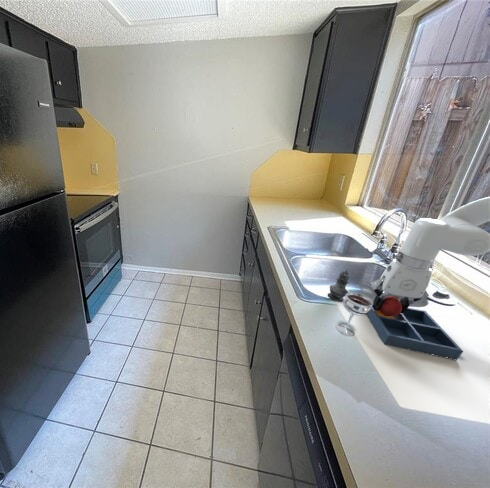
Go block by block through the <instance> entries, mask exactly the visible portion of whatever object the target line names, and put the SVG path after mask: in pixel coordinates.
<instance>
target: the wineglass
mask: <svg viewBox="0 0 490 488" xmlns="http://www.w3.org/2000/svg"><path fill="white" fill-rule="evenodd" d="M343 298H344V301H343V302H342V303H343V304H342V305H343V307H344V309H345V310H346V312H347V313H349V318H348V319H347V322H346V324H342V323H338V324H336V325H335V329H336V330H337V332H339V333H341V334H342V335H344V336H348V337H354V336H355V331H354V330H353V329H352V328H351V326H349V325H350V323H351V321H352V320H353V318H354V316H356V317H361V316H366V314H368V313H369V312H370V311H371V306H373V304H374V303H373V301H374V300H372V299H371V298H370V297H368V296H367V295H365V294H362V293H361V292H360V293H359V292H354V291H350V292H349V291H348V293H347V294H346V296H344V297H343Z"/></svg>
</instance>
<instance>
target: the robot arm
mask: <svg viewBox="0 0 490 488" xmlns="http://www.w3.org/2000/svg"><path fill="white" fill-rule="evenodd" d="M488 222H490V196H487V197H484V198H483V197H482V198H480V199H477V200H474V201H471V202H468V203H466V204H464V205H462V206H460V207H458V208H456V209H455V210H453V211H451V212H448V213H447V214H446V215H444V216H442V217H441V218H439V220H438V219H433V218H428V217H427V218H425V217H423V218H419V219H416V220H415V221H414V223H413V224H412V226H411V228H410V230H409V232H408V234H407V236H406V239H405V240H404V241H403V244H402V246H401V248H400V250H399V251H398V253H392V258H393V259H392V260H391V261H390V263H389V264H388V265H387V266H386V268H385V269H384V271H383V273H382V274H381V276H380V277H379V278H378V279H376V280H374V281H371V282H369V284H368V285H369V287H371V289H372V290H373V291H374V293H375V294H376V295H375V297H374V299H373V300H372V301H373V303H374V305H375V307H376V308H377V309H380V308H381V306H382V304H383V302H384V298H385V297H387V296H388V295H391V296H398V297H401V299H400V300H399V301H400V303H401V304H402V311H401V314H404V313H405V311H406V310H407V309H408V308H410V305H413V304H414V303H415V302H418V301H421V300H422V299H424V298H428V297H429V293H428V291H427V288H428V286H429V284H430V281H431V278H432V274H433V269H432V268H431V267H432V265H433V263H434V262H435V259H436V258H437V256H438V254H439V252H440V251H442V250H443V251H447V252H449V253H454V254H457V255H461V256H467V257H469V256H470V257H475V256H482V255H484V254H487V253H489V252H490V232H488V231H487V230H485V229H483V228H480V227H479V226H481V225H483V224H486V223H488ZM378 287H379V288H378Z"/></svg>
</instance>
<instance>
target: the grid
mask: <svg viewBox="0 0 490 488" xmlns="http://www.w3.org/2000/svg"><path fill="white" fill-rule="evenodd" d="M365 316H366V317H367V319H368V321H369V323H370V325H372V327H373V329H374V330H375V333H376V334H377V336H378V337H379V339H380V340H381V342H382V344H383V345H386V346H391V347H394V348H400V349H403V350H408V349H409V351H413V352H417V351H418V352H417V353H422V352H423V354H426V353H428V354H427V355H431V354H434V355H433V356H435V355H438V356H437V357H440V356H442V357H441V358H444V357H448V358H447V359H449V358H452V359H451V360H453V359H456V360H455V361H457V360H458V359H459V358H460V357H461V355H462V354H463V352H464V350H463V349H462V348H461V347H460V346H459V345H458V344H457V342H455V340H454V339H452V337H451V336H449V334H448V333H447V332H446V331H445V329H443V328H442V327H441V326H440V325H439V324H438V323H437V321H435V319H434V318H433V317H432V316H431V315H430V314H429V313H428V312H427V310H424V309H418V308H413V307H408V309H407V310H406V311H405V313H404V314H401V313H400V314H398V315H396V316H384V315H383V314H382V313H381V312H380V310H379V309H377V308H376V307H375V305H374V304H373V306H371V311H370V312H369V313H368V314H366V315H365Z"/></svg>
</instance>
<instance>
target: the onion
mask: <svg viewBox="0 0 490 488" xmlns="http://www.w3.org/2000/svg"><path fill="white" fill-rule="evenodd" d="M379 310H380V312H381V313H382V314H383V315H384V316H396V315H398V314H400V313H401V311H402V304H401V303H400V300H399V296H398V295H391V296H385V297H384V302H383V304H382V306H381V308H380V309H379Z"/></svg>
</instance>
